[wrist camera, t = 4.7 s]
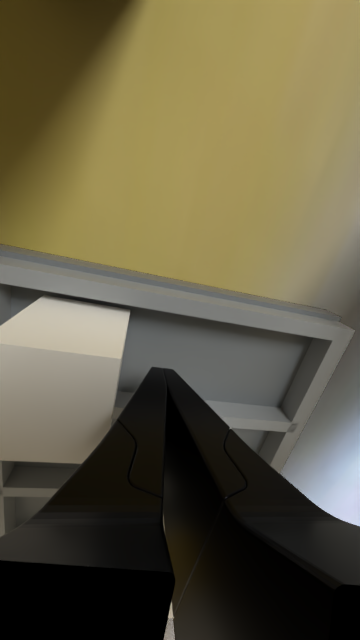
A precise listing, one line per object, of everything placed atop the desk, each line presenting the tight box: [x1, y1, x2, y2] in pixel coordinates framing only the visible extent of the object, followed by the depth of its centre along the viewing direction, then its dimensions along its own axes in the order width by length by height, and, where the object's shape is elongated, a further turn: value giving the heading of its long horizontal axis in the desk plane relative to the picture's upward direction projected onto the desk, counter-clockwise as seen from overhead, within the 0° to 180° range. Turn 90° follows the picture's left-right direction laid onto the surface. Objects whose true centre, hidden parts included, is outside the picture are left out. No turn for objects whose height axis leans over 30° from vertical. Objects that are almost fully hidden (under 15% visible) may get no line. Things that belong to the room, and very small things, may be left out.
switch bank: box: [0, 244, 356, 537], centre depth 12 cm, size 18×16×2 cm
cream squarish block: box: [0, 295, 130, 464], centre depth 8 cm, size 3×4×4 cm
